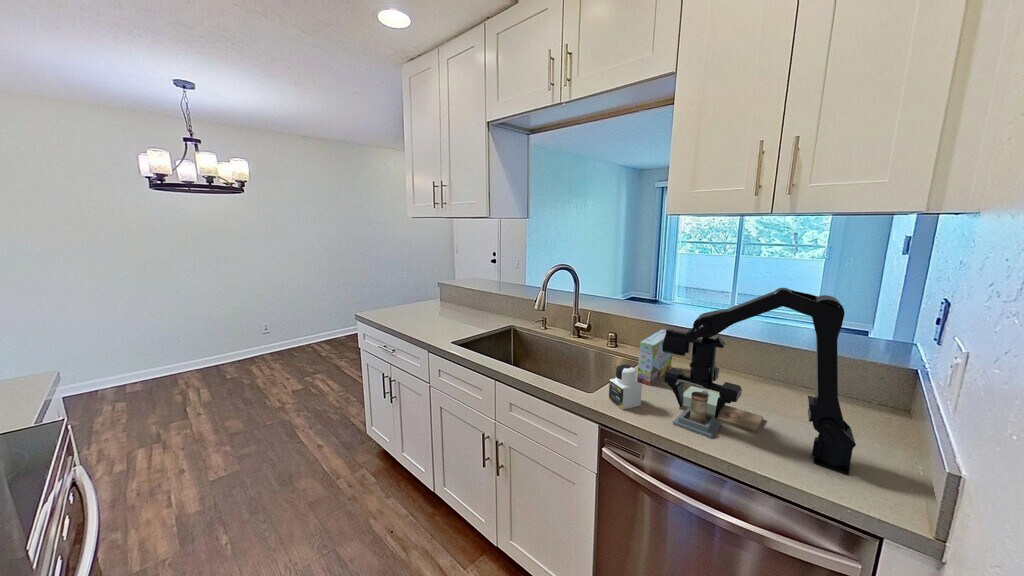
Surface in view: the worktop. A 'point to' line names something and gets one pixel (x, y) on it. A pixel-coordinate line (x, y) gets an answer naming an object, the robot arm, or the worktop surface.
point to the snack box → (653, 359)
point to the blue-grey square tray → (697, 424)
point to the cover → (711, 395)
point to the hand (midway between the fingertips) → (698, 412)
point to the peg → (698, 407)
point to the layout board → (737, 418)
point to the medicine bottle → (625, 388)
